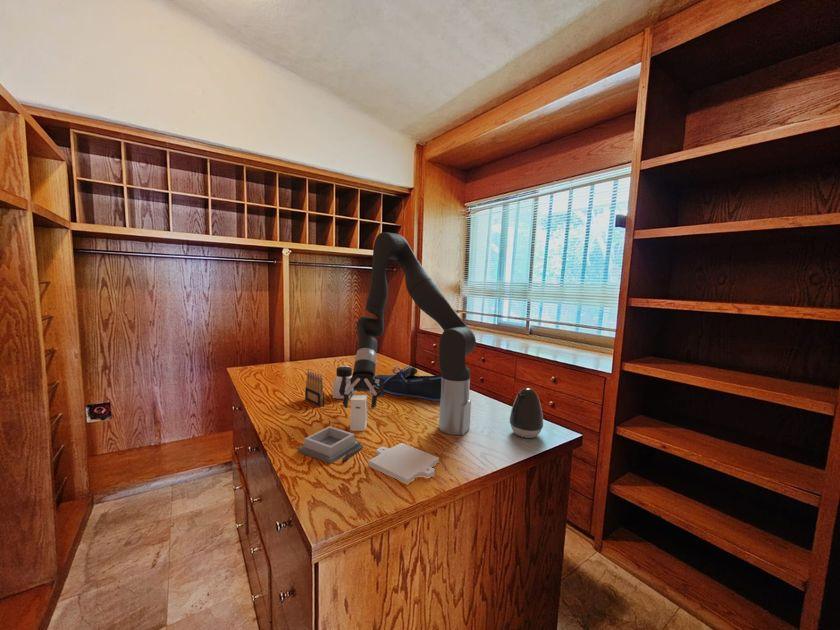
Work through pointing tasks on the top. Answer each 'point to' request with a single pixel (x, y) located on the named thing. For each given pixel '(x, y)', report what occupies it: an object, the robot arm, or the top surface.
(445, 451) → the top surface
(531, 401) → the dark grey egg shape
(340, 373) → the medicine bottle
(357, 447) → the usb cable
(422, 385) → the moccasin
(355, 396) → the charger
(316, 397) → the pencil set
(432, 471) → the mounting plate
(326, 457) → the grey square tray
